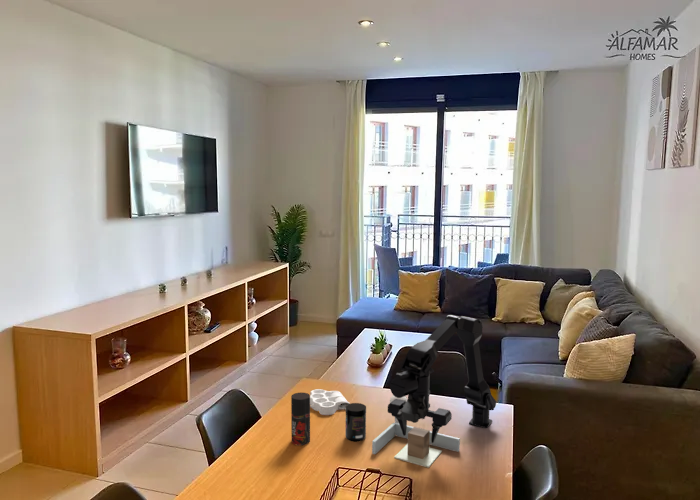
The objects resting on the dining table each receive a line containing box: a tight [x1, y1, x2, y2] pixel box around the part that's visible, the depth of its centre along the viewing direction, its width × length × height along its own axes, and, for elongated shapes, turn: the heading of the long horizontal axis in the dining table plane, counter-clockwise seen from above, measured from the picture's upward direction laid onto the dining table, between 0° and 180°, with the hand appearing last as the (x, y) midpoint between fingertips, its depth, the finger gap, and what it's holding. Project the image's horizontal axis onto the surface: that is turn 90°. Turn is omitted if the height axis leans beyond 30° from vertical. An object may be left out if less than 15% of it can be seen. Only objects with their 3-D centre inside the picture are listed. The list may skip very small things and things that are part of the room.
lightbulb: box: [389, 394, 408, 423], centre depth 179 cm, size 6×6×11 cm
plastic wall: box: [371, 422, 461, 455], centre depth 160 cm, size 16×22×4 cm
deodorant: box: [290, 392, 311, 446], centre depth 166 cm, size 6×6×15 cm
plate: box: [394, 442, 443, 469], centre depth 158 cm, size 11×11×1 cm
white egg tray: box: [309, 388, 351, 416], centre depth 196 cm, size 3×18×15 cm
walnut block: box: [407, 426, 431, 459], centre depth 158 cm, size 5×5×7 cm
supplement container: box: [344, 402, 367, 443], centre depth 169 cm, size 7×7×10 cm
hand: (418, 438), depth 158 cm, fingers open, 9 cm apart
